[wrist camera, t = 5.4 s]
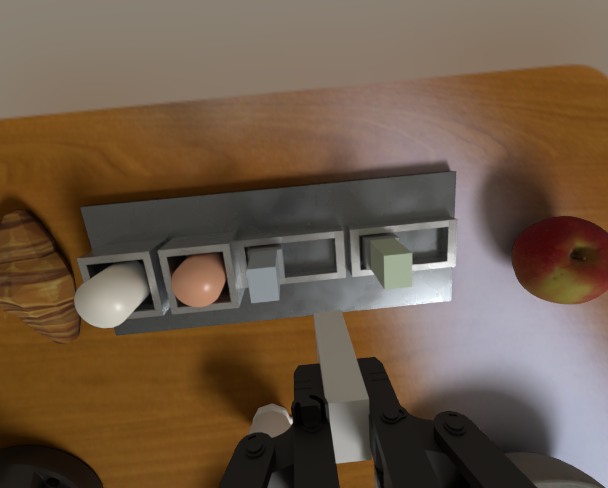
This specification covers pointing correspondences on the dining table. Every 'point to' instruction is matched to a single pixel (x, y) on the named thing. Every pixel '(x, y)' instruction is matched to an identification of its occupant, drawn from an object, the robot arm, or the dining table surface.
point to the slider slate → (265, 272)
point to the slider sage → (387, 260)
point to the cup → (271, 420)
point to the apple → (562, 260)
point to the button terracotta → (200, 279)
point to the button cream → (112, 294)
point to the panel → (295, 243)
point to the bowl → (551, 471)
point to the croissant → (36, 278)
